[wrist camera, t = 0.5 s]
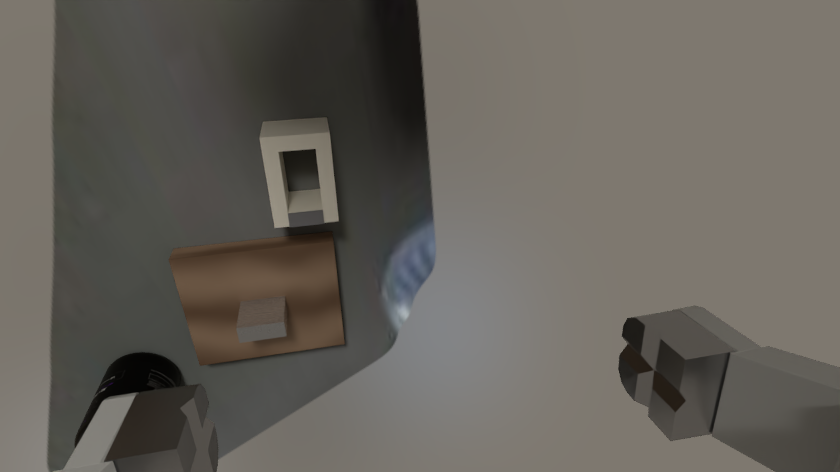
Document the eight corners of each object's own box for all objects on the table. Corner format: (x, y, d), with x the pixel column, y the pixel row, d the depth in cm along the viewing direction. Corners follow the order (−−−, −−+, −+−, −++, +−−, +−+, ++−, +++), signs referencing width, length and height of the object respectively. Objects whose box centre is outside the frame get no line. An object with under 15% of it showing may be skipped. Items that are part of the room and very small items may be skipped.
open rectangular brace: (262, 121, 41) (259, 138, 37) (326, 117, 42) (329, 133, 38) (276, 205, 45) (274, 229, 41) (335, 199, 46) (338, 222, 42)
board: (173, 248, 45) (168, 260, 43) (332, 231, 47) (333, 241, 46) (203, 352, 51) (200, 365, 49) (343, 331, 53) (344, 344, 51)
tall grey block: (240, 301, 47) (236, 328, 43) (285, 295, 47) (284, 321, 44) (243, 315, 47) (239, 343, 44) (287, 309, 48) (286, 336, 45)
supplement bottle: (99, 352, 48) (45, 458, 38) (176, 346, 50) (145, 447, 39) (113, 404, 51) (67, 515, 41) (186, 398, 53) (158, 503, 43)
